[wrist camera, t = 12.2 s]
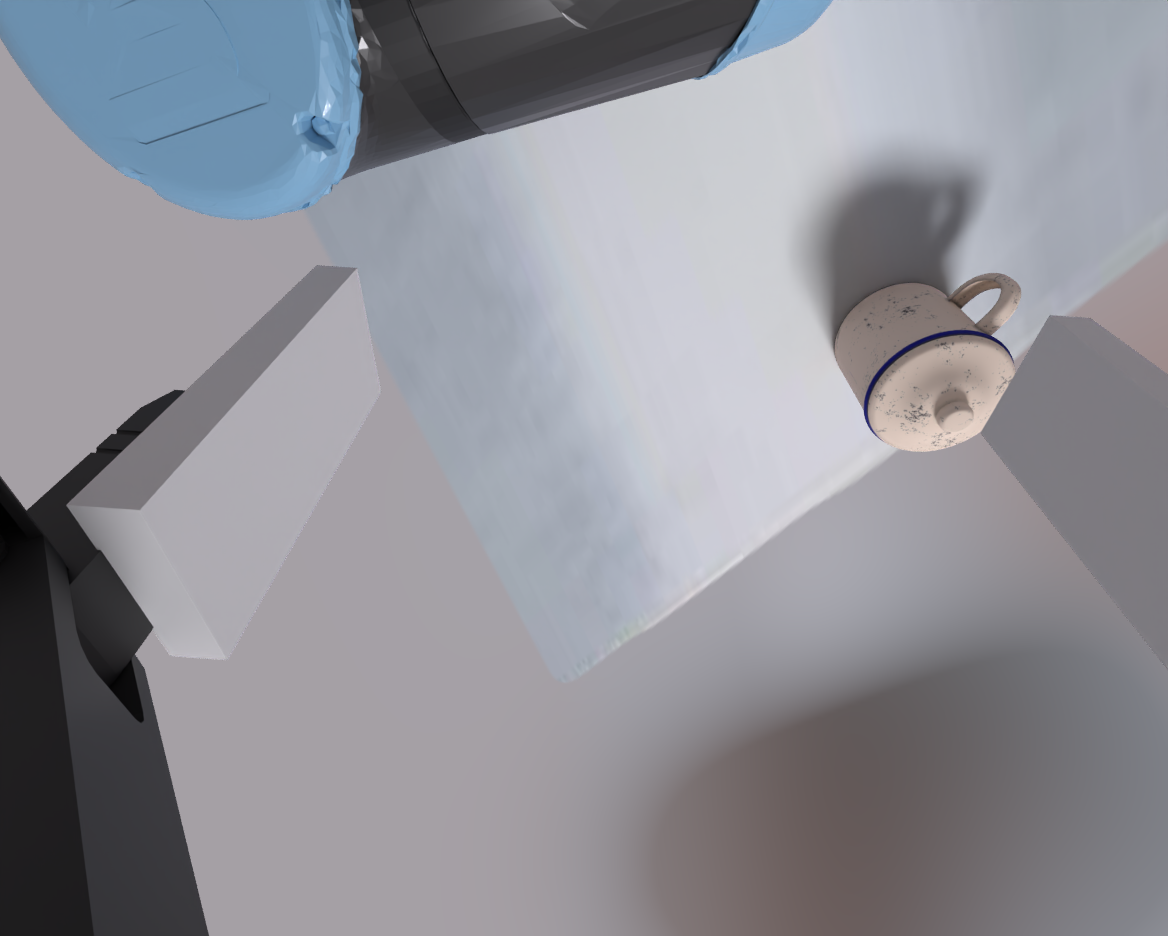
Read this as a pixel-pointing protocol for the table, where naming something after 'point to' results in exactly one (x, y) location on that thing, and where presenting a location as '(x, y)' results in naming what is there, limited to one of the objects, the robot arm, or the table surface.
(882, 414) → the teacup with lid
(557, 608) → the table surface
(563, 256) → the table surface
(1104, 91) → the table surface
